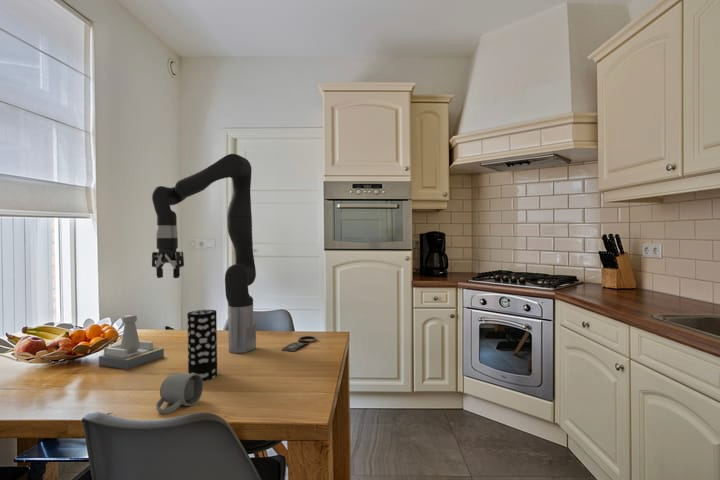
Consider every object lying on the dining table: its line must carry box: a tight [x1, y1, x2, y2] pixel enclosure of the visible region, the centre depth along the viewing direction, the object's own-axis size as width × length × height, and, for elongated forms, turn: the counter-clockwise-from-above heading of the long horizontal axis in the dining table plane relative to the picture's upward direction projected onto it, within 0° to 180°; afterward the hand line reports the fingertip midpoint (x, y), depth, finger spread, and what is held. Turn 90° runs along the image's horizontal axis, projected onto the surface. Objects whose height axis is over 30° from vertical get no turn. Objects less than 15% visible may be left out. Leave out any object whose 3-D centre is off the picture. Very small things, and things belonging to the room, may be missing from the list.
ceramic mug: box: [155, 373, 204, 415], centre depth 95 cm, size 11×8×8 cm
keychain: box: [281, 335, 317, 353], centre depth 149 cm, size 8×19×2 cm, turn 158°
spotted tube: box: [187, 309, 218, 382], centre depth 115 cm, size 8×8×20 cm
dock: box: [98, 340, 165, 370], centre depth 132 cm, size 14×14×6 cm
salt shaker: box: [120, 314, 140, 354], centre depth 132 cm, size 6×6×13 cm
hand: (168, 277), depth 148 cm, fingers open, 8 cm apart
